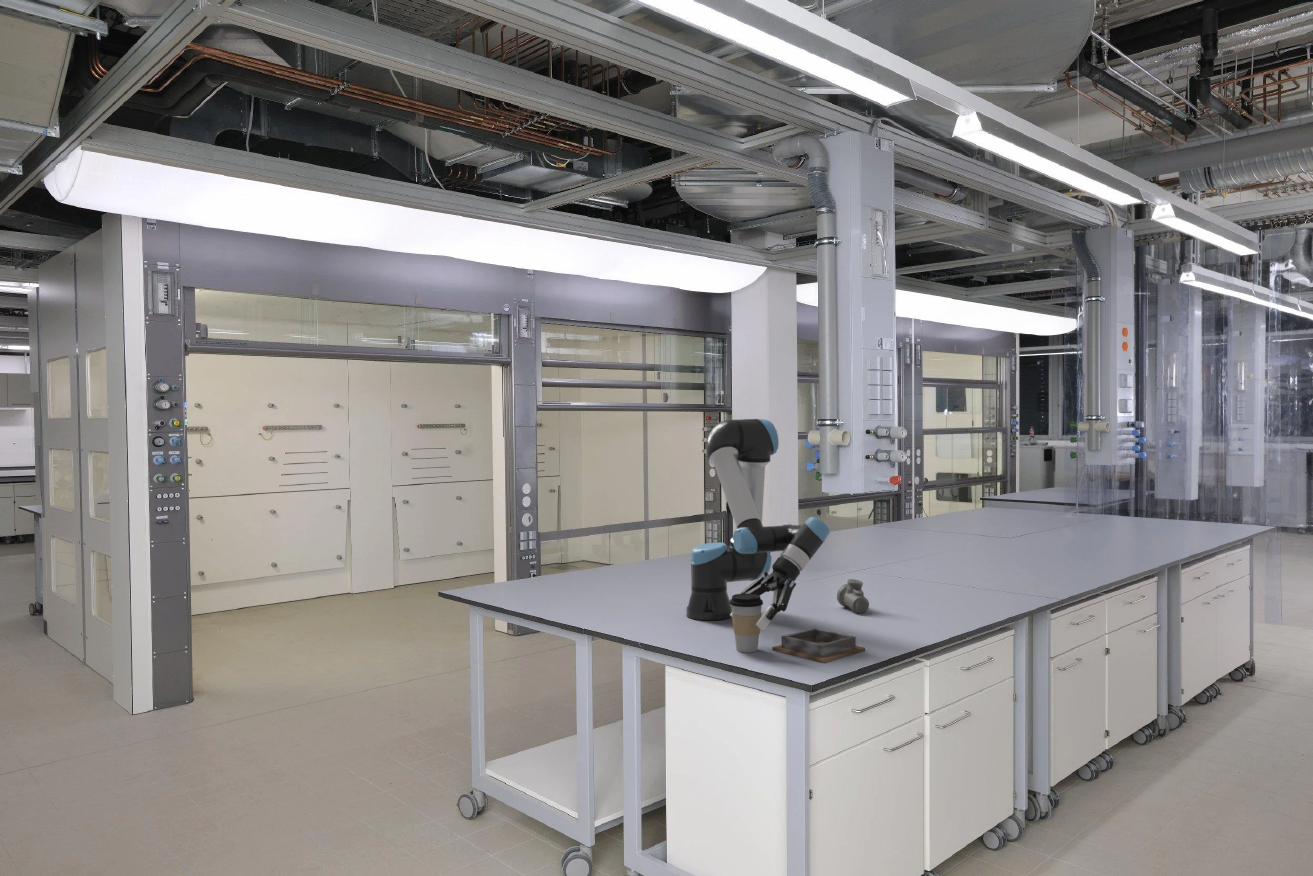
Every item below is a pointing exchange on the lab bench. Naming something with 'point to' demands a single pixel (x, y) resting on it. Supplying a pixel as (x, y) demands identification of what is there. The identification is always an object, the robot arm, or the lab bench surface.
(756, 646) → the coffee cup
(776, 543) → the robot arm
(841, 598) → the pipe fitting
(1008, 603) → the lab bench surface
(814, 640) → the square rimmed tray
